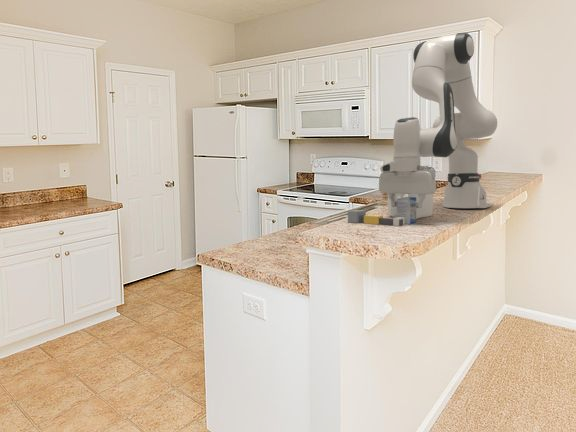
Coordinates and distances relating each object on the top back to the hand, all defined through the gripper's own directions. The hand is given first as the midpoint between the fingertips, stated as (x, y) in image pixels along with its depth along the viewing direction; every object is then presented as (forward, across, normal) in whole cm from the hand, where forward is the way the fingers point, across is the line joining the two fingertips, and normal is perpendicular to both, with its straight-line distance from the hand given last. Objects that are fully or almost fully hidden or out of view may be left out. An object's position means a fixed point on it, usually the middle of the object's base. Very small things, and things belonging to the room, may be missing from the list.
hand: (406, 207), depth 157 cm
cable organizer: (+6, +8, -15) cm, 18 cm away
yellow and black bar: (+5, +5, +8) cm, 11 cm away
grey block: (+5, +15, +8) cm, 18 cm away
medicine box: (+6, 0, 0) cm, 6 cm away
